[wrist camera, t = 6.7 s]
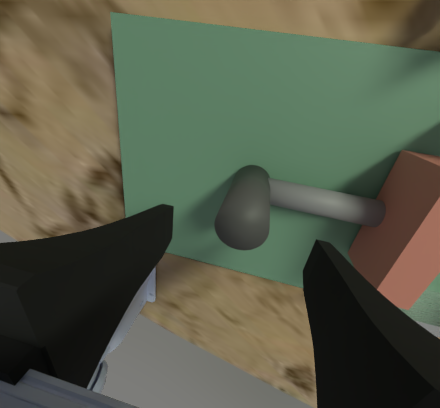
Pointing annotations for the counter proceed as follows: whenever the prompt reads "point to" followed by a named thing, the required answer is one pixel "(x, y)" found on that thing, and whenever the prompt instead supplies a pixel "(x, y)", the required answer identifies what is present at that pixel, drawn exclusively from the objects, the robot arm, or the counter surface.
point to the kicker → (354, 221)
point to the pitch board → (263, 128)
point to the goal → (426, 311)
